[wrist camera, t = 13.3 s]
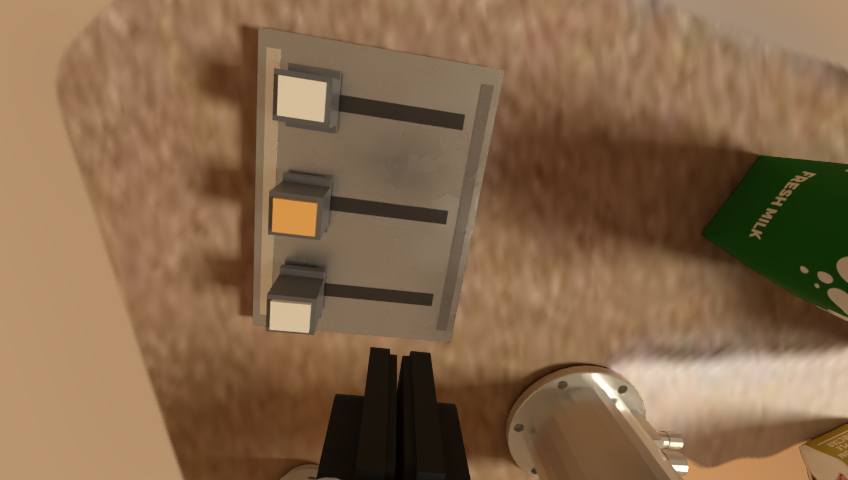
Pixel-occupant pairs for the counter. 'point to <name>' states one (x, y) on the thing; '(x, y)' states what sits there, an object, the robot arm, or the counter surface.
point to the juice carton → (827, 455)
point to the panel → (379, 183)
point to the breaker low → (307, 97)
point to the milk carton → (791, 228)
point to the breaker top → (295, 300)
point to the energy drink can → (302, 473)
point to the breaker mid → (300, 206)
